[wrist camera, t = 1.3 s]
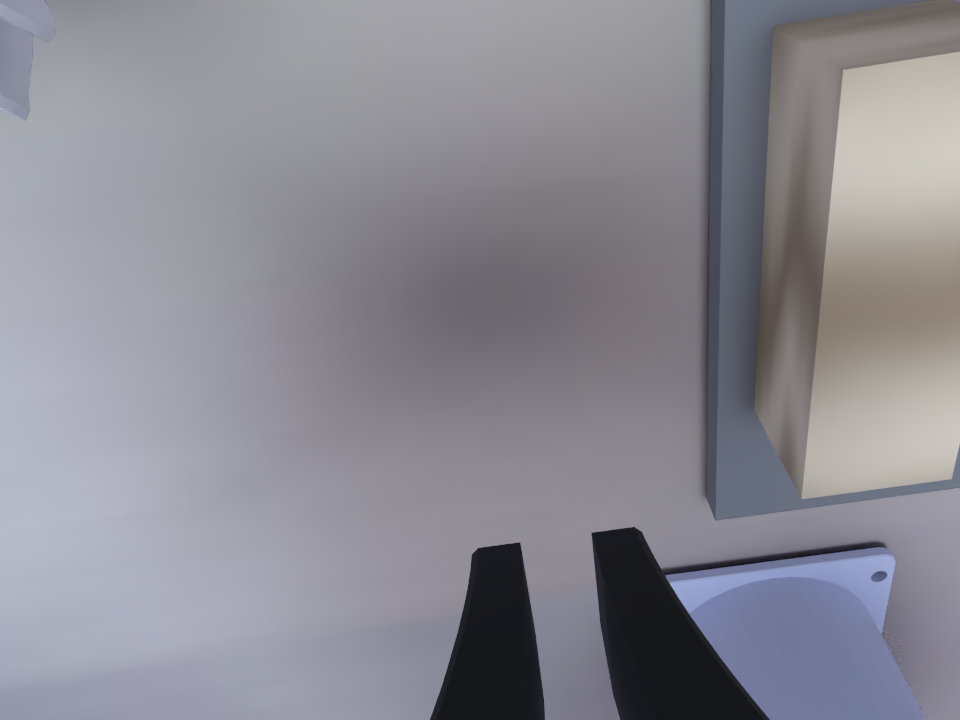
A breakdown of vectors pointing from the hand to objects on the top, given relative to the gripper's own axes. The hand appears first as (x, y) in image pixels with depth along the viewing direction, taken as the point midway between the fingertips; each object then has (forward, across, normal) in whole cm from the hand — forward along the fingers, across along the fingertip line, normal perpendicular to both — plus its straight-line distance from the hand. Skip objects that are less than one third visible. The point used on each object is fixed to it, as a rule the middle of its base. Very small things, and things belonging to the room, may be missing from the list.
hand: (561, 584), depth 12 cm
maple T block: (+9, -11, 0) cm, 14 cm away
